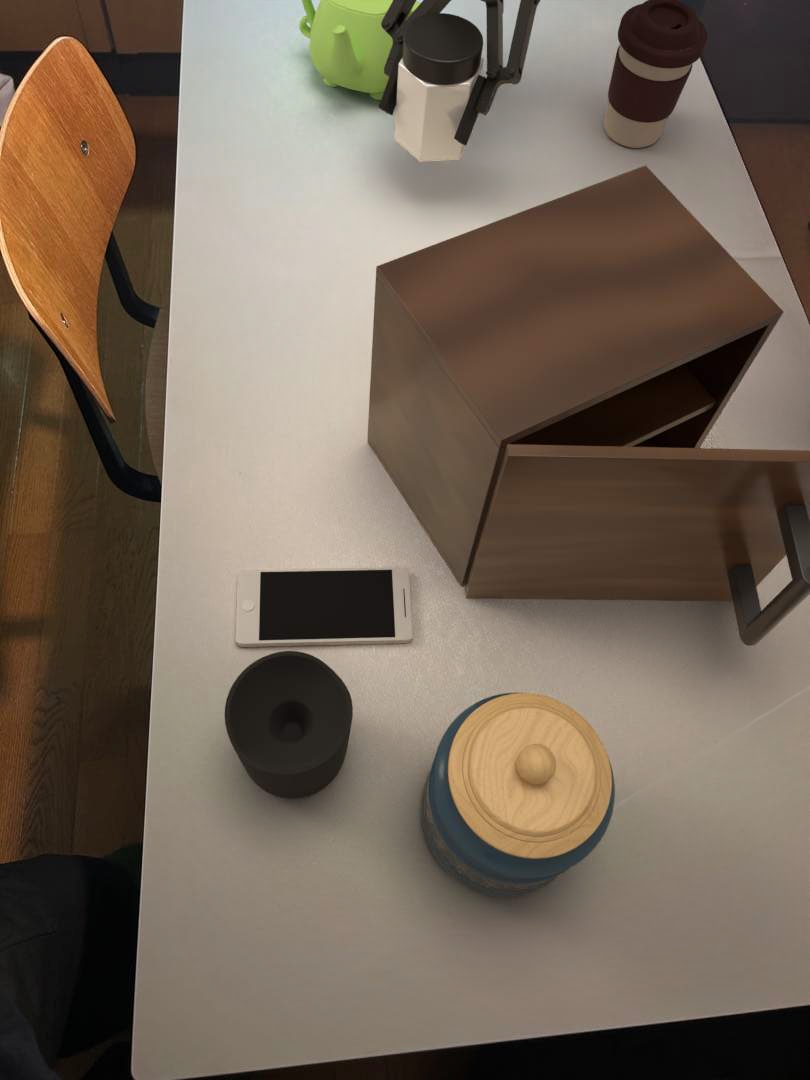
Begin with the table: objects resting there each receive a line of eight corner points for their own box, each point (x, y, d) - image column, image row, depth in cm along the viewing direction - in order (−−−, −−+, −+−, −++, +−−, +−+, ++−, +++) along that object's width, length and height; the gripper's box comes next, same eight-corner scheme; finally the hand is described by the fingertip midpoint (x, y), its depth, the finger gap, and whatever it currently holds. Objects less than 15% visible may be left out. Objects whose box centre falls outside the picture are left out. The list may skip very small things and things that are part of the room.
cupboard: (682, 476, 93) (784, 311, 72) (460, 587, 86) (501, 440, 64) (580, 349, 100) (645, 164, 79) (366, 442, 92) (376, 266, 71)
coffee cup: (585, 104, 119) (616, -13, 105) (660, 103, 120) (700, -13, 107) (601, 158, 114) (635, 43, 101) (678, 156, 115) (723, 42, 102)
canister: (508, 937, 72) (556, 909, 56) (386, 818, 75) (399, 762, 60) (608, 812, 77) (677, 755, 61) (489, 706, 80) (525, 627, 65)
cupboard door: (757, 670, 83) (898, 548, 63) (469, 669, 82) (515, 543, 61) (741, 591, 87) (869, 451, 66) (465, 588, 85) (506, 443, 65)
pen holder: (351, 693, 80) (353, 651, 71) (350, 804, 76) (352, 774, 67) (241, 693, 80) (229, 650, 71) (233, 805, 75) (220, 774, 66)
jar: (465, 111, 107) (478, 9, 97) (479, 160, 103) (495, 59, 93) (388, 116, 106) (393, 13, 95) (400, 165, 102) (406, 64, 92)
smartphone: (238, 573, 85) (237, 569, 84) (408, 570, 86) (408, 566, 85) (236, 647, 81) (235, 643, 80) (412, 643, 83) (413, 639, 82)
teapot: (441, 107, 117) (453, 9, 106) (333, 127, 114) (333, 28, 102) (397, 29, 124) (404, -71, 112) (294, 45, 120) (290, -56, 109)
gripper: (404, -155, 91) (324, 82, 98) (602, -86, 87) (504, 156, 94) (425, -120, 98) (348, 99, 105) (609, -54, 94) (517, 168, 101)
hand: (422, 126), depth 100 cm, fingers closed on jar, 8 cm apart
